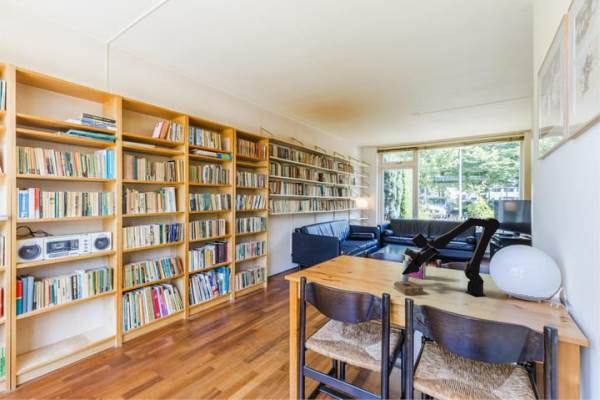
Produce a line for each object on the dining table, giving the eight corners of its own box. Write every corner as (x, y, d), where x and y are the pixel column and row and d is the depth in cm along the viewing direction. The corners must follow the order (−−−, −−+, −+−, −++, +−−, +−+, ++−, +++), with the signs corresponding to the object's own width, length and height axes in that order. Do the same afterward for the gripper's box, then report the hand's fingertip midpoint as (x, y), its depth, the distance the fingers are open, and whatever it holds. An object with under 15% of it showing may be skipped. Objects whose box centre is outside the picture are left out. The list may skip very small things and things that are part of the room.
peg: (406, 283, 155) (406, 260, 155) (409, 285, 152) (409, 261, 152) (401, 283, 155) (401, 260, 155) (404, 285, 152) (404, 261, 152)
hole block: (411, 288, 149) (411, 281, 149) (423, 294, 139) (423, 287, 139) (394, 289, 147) (394, 282, 147) (405, 296, 137) (405, 288, 137)
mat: (410, 281, 161) (410, 280, 161) (421, 286, 151) (421, 285, 151) (394, 282, 159) (394, 281, 159) (404, 287, 149) (404, 287, 149)
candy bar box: (404, 276, 170) (404, 249, 170) (407, 274, 174) (407, 248, 174) (422, 280, 163) (423, 252, 162) (426, 278, 166) (426, 251, 166)
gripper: (414, 241, 160) (394, 258, 165) (412, 246, 143) (389, 265, 148) (429, 256, 157) (408, 273, 162) (429, 263, 140) (405, 282, 145)
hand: (403, 273), depth 154 cm, fingers open, 6 cm apart
